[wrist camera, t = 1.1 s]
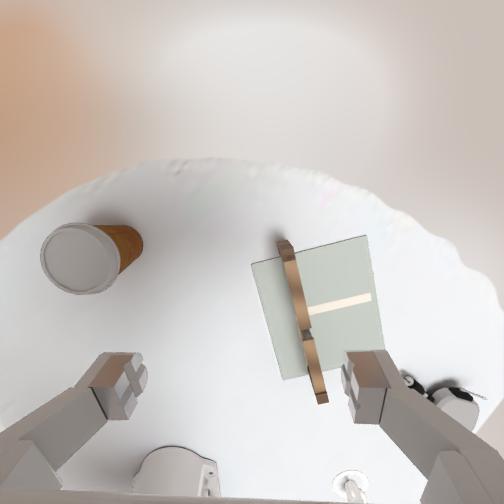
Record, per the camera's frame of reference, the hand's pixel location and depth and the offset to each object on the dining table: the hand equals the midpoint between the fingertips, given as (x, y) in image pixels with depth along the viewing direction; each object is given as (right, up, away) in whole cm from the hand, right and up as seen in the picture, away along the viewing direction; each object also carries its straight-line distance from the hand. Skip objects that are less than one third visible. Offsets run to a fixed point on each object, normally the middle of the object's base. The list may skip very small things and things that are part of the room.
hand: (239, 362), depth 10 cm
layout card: (+13, -6, +35) cm, 38 cm away
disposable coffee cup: (-21, +6, +32) cm, 39 cm away
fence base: (+11, -12, +36) cm, 39 cm away
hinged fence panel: (+7, 0, +32) cm, 33 cm away
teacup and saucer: (+20, -49, +45) cm, 70 cm away
